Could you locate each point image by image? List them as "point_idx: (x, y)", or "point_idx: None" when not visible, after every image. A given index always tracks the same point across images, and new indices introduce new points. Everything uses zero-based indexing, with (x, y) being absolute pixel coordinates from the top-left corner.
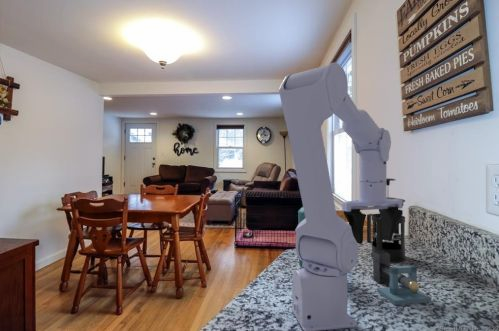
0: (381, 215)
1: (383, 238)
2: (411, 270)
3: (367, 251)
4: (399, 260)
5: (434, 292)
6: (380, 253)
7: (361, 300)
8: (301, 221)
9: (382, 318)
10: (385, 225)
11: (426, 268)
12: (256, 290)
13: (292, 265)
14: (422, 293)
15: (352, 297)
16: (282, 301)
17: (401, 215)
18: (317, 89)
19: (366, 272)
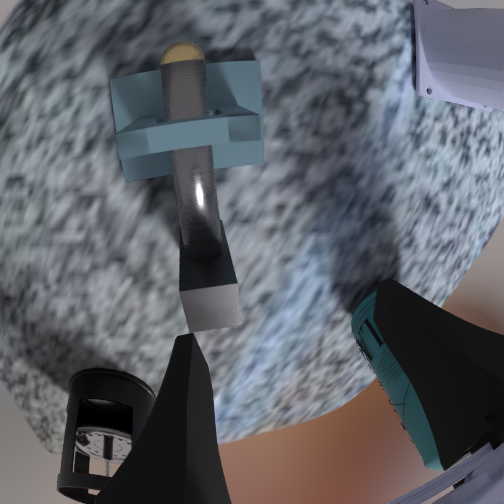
0: (228, 497)
1: (207, 365)
2: (148, 125)
3: None
4: (90, 371)
5: (63, 156)
6: (223, 297)
7: (343, 107)
8: None
9: (337, 3)
10: (207, 432)
11: (31, 328)
12: (499, 205)
13: None
14: (120, 113)
15: (358, 131)
16: (488, 148)
17: (104, 490)
18: None
19: None
